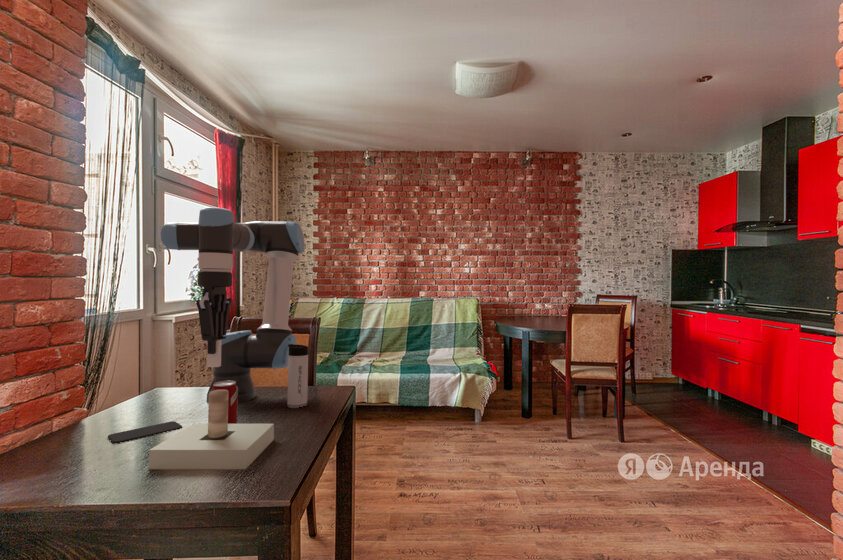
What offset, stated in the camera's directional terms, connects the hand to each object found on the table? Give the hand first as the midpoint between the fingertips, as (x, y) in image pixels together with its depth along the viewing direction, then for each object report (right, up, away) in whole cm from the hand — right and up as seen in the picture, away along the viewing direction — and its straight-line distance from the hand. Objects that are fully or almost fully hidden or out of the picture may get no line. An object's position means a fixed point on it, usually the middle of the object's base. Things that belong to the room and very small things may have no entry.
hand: (214, 366), depth 93 cm
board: (+4, -19, -6) cm, 20 cm away
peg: (+4, -19, -6) cm, 20 cm away
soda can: (-3, -19, +10) cm, 22 cm away
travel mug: (+10, -20, +31) cm, 38 cm away
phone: (-21, -19, +6) cm, 29 cm away
